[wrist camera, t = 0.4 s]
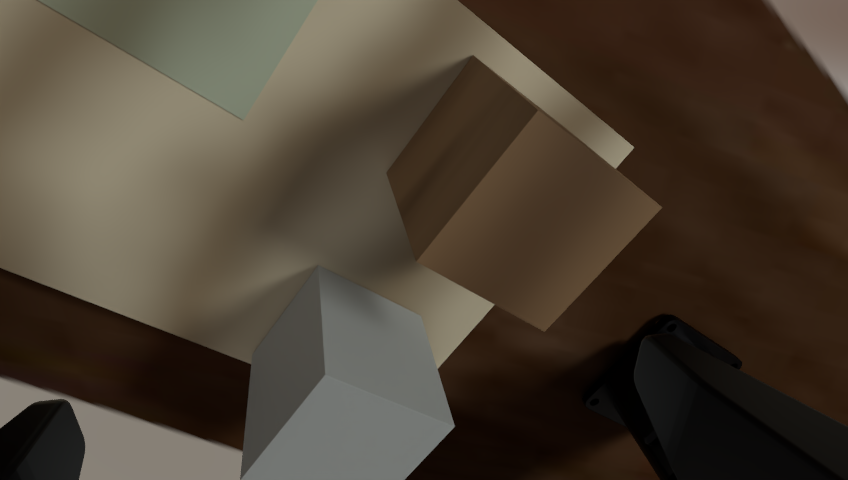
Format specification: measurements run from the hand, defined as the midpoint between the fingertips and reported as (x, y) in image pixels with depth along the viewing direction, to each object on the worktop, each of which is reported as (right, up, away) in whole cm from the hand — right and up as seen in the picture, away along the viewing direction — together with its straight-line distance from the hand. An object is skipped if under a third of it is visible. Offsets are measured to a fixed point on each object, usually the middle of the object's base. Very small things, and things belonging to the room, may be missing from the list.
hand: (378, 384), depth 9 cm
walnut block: (+3, +5, +12) cm, 13 cm away
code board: (-4, +5, +12) cm, 13 cm away
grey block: (-3, -2, +15) cm, 15 cm away
